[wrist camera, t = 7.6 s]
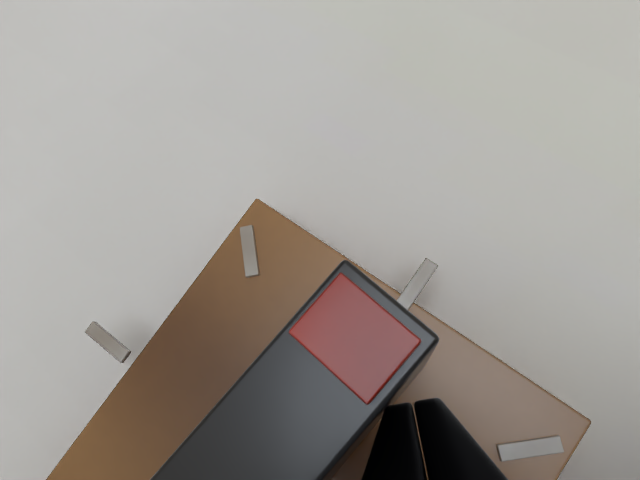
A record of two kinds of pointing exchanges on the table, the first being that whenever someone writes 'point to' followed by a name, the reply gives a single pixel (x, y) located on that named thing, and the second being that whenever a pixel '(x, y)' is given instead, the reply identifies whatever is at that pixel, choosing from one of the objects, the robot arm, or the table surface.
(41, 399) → the table surface
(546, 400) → the brown piece
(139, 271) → the table surface
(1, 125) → the table surface
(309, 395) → the dark grey block
